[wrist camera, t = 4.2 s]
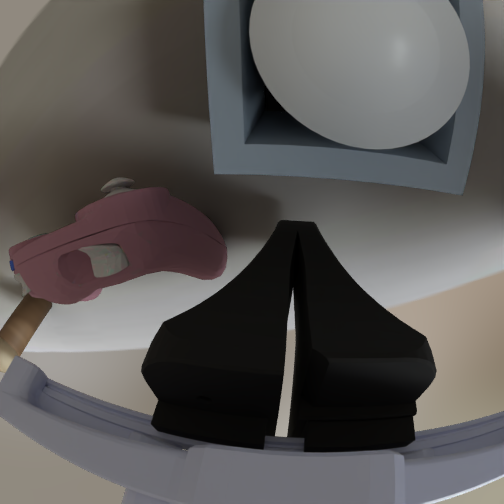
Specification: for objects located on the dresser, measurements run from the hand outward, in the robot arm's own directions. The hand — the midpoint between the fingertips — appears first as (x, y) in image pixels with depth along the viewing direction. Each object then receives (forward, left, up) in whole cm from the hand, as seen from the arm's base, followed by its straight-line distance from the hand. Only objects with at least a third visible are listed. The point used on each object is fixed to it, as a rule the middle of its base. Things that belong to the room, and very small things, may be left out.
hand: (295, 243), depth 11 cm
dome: (-1, -7, +1) cm, 7 cm away
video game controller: (+8, 0, -2) cm, 8 cm away
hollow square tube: (-1, -7, -1) cm, 7 cm away
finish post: (+19, +7, -1) cm, 21 cm away
